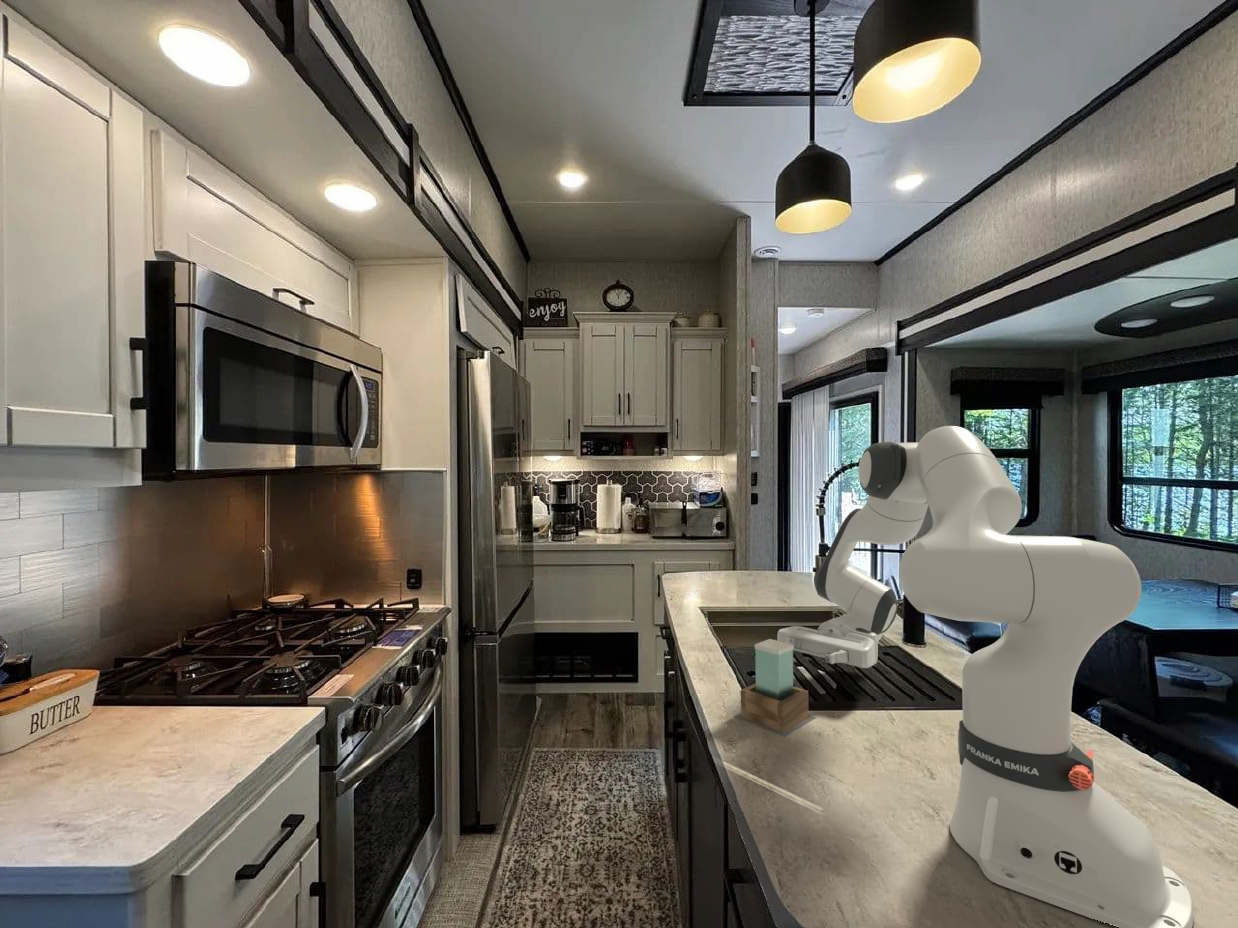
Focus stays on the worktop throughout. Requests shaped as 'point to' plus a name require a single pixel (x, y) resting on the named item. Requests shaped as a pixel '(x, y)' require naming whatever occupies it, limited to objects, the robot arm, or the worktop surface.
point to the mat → (776, 730)
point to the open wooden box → (774, 708)
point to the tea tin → (774, 669)
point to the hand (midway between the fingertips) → (806, 653)
